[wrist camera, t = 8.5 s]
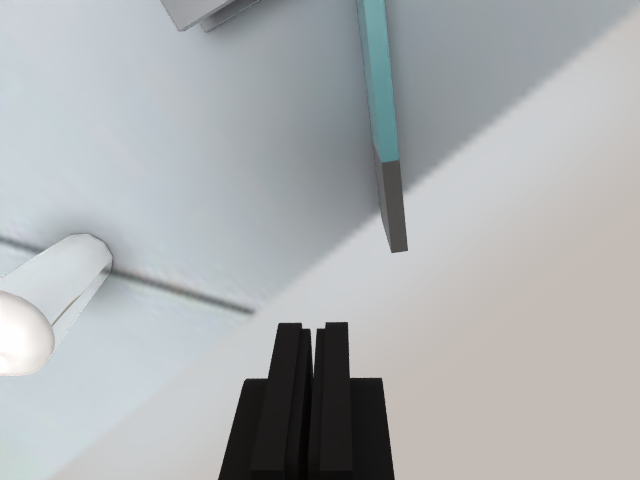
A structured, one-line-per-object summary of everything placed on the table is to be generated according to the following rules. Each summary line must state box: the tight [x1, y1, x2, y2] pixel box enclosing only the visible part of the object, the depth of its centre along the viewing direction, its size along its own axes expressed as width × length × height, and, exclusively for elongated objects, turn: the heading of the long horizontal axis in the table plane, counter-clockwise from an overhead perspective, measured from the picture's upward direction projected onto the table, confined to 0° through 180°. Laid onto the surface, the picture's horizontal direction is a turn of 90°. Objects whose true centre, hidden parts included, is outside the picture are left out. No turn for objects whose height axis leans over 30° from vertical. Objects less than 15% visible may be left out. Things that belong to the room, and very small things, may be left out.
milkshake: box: [0, 234, 113, 376], centre depth 23 cm, size 4×5×10 cm
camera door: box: [356, 0, 408, 253], centre depth 22 cm, size 14×1×4 cm, turn 9°
